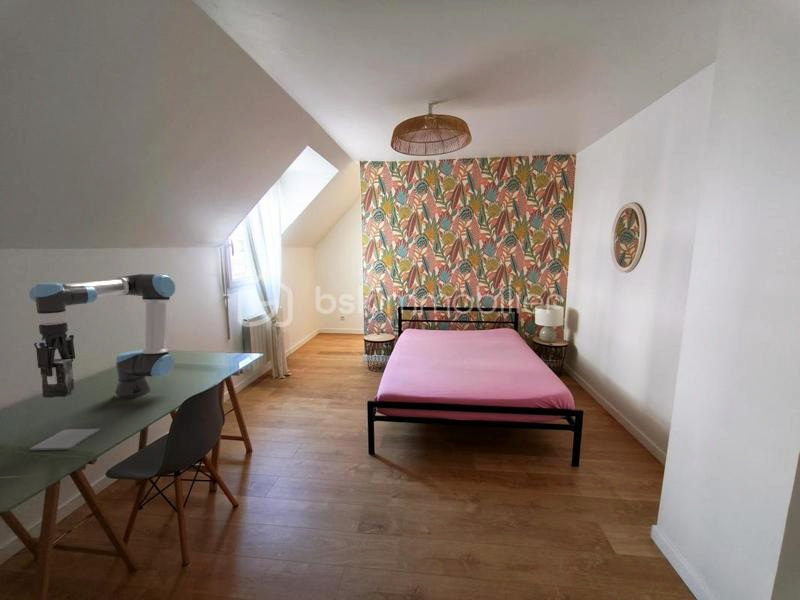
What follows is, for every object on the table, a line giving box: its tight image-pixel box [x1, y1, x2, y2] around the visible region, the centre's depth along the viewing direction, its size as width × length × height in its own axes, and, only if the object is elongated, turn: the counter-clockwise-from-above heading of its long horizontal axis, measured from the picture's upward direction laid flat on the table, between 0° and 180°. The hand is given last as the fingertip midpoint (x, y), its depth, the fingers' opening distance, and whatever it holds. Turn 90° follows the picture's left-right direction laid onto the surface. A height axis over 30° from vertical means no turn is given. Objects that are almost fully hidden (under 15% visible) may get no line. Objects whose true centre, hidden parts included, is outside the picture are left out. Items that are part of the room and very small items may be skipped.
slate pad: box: [29, 428, 101, 451], centre depth 132 cm, size 14×14×1 cm
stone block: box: [39, 358, 75, 399], centre depth 129 cm, size 9×14×5 cm
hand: (59, 380), depth 129 cm, fingers closed on stone block, 5 cm apart
